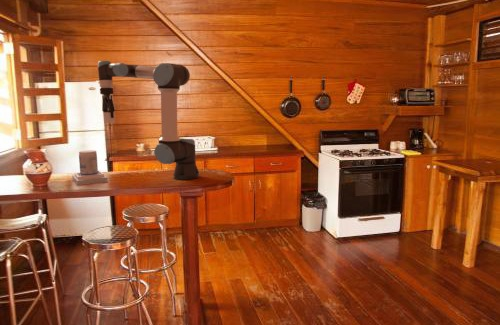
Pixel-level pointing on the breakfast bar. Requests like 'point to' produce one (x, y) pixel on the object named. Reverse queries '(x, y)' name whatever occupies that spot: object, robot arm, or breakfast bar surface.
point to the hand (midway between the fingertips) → (109, 123)
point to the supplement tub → (88, 163)
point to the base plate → (89, 178)
